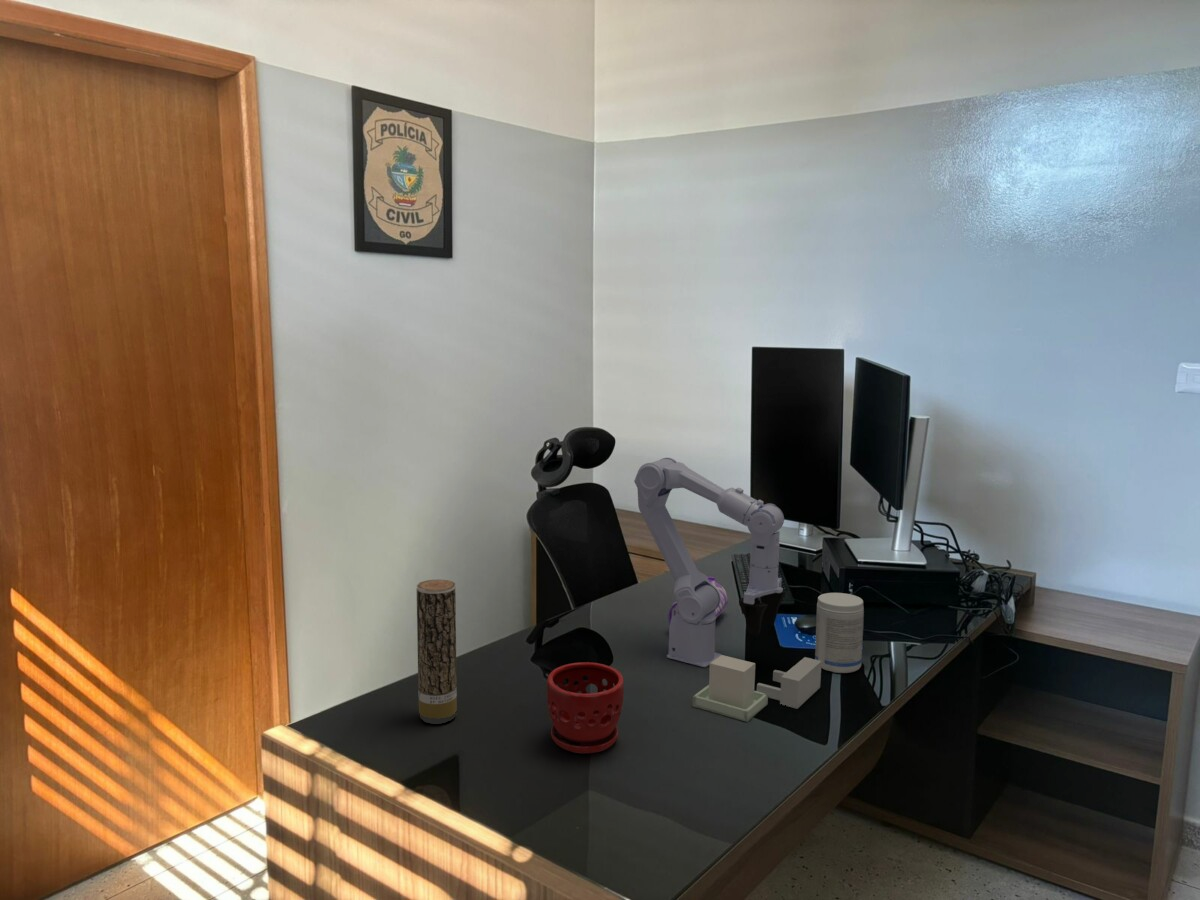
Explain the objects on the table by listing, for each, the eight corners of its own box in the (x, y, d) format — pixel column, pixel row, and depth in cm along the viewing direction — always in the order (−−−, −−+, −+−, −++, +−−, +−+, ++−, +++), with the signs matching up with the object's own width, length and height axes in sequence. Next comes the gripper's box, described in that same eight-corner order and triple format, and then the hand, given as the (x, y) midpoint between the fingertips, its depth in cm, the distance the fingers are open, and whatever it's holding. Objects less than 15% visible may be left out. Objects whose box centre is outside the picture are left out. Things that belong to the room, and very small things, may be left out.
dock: (753, 696, 171) (754, 669, 170) (777, 676, 181) (778, 651, 180) (797, 708, 166) (798, 681, 165) (820, 687, 176) (821, 661, 175)
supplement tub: (870, 668, 185) (874, 601, 183) (839, 678, 180) (843, 609, 178) (835, 653, 193) (838, 589, 191) (804, 662, 188) (807, 596, 186)
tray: (692, 706, 166) (692, 696, 166) (714, 689, 174) (715, 680, 173) (747, 722, 160) (747, 711, 160) (767, 704, 168) (768, 694, 167)
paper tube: (463, 713, 162) (462, 581, 158) (445, 729, 156) (443, 592, 152) (430, 707, 164) (428, 577, 161) (411, 722, 158) (409, 588, 154)
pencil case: (693, 609, 222) (694, 572, 221) (729, 614, 219) (731, 577, 217) (665, 637, 202) (666, 597, 201) (704, 643, 199) (705, 603, 197)
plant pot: (532, 738, 153) (532, 672, 151) (592, 718, 161) (593, 655, 159) (576, 769, 143) (576, 699, 141) (638, 746, 151) (639, 679, 149)
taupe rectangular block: (705, 702, 167) (706, 662, 165) (717, 693, 171) (718, 654, 170) (742, 713, 162) (744, 671, 161) (753, 703, 167) (755, 663, 165)
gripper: (768, 576, 171) (765, 643, 173) (796, 560, 183) (793, 622, 185) (734, 570, 175) (732, 635, 177) (764, 554, 187) (762, 616, 189)
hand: (761, 628), depth 181 cm, fingers open, 7 cm apart
